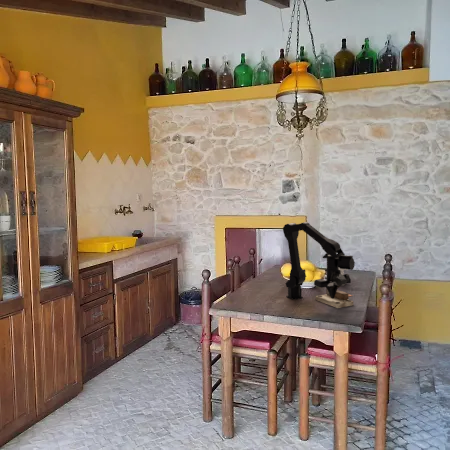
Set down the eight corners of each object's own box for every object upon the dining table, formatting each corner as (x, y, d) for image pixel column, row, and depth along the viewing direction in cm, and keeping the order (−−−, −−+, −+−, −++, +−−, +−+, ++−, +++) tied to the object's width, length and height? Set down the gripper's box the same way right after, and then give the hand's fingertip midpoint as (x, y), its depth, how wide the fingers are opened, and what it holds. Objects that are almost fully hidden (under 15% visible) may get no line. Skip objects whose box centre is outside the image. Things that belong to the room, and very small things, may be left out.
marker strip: (336, 298, 227) (336, 298, 227) (331, 297, 231) (331, 296, 231) (352, 296, 232) (352, 295, 232) (347, 294, 235) (347, 293, 235)
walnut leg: (325, 293, 229) (325, 287, 228) (331, 293, 230) (331, 287, 230) (343, 300, 216) (343, 293, 216) (348, 299, 218) (348, 292, 217)
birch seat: (337, 308, 211) (337, 303, 211) (315, 299, 226) (315, 295, 226) (353, 305, 215) (353, 300, 215) (331, 297, 231) (331, 293, 230)
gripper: (327, 272, 204) (327, 305, 206) (358, 268, 212) (358, 299, 214) (313, 268, 214) (313, 299, 216) (343, 264, 222) (343, 294, 224)
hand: (332, 298), depth 217 cm, fingers closed
